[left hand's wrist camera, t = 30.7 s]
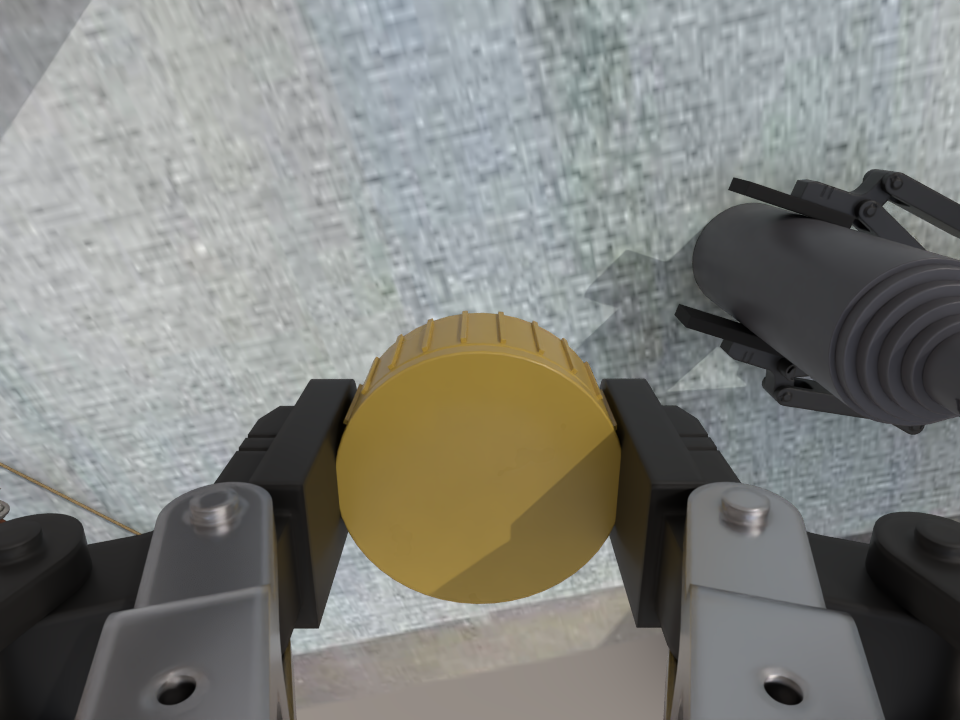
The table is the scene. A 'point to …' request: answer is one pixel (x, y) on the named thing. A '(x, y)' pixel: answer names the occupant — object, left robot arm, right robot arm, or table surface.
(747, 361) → the right robot arm
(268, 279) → the table surface
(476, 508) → the cap
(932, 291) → the bottle
